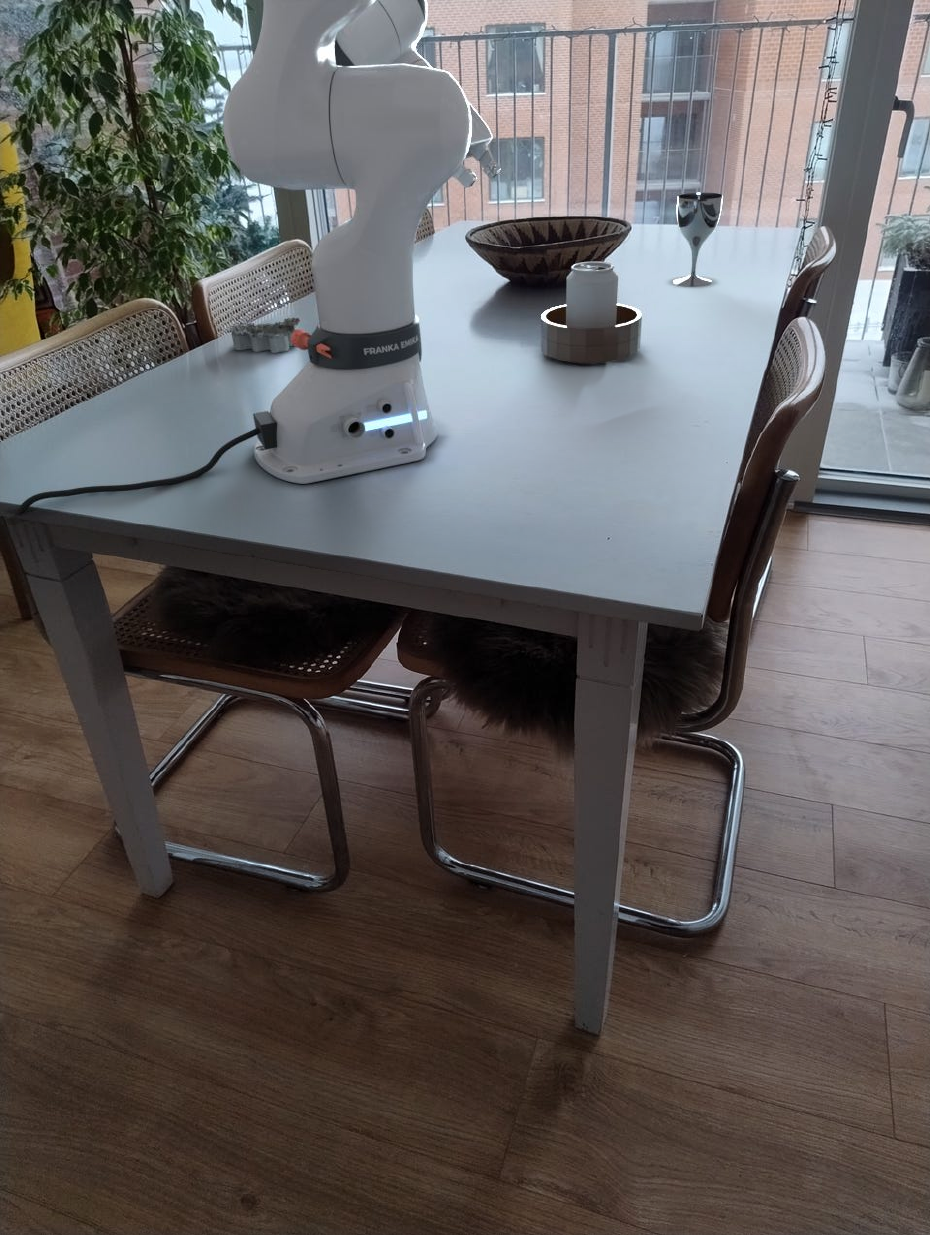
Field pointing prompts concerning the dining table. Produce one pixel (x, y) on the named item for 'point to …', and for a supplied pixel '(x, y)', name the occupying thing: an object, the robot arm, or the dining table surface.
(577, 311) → the can
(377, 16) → the robot arm
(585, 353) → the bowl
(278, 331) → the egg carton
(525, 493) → the dining table surface
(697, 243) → the silver goblet
